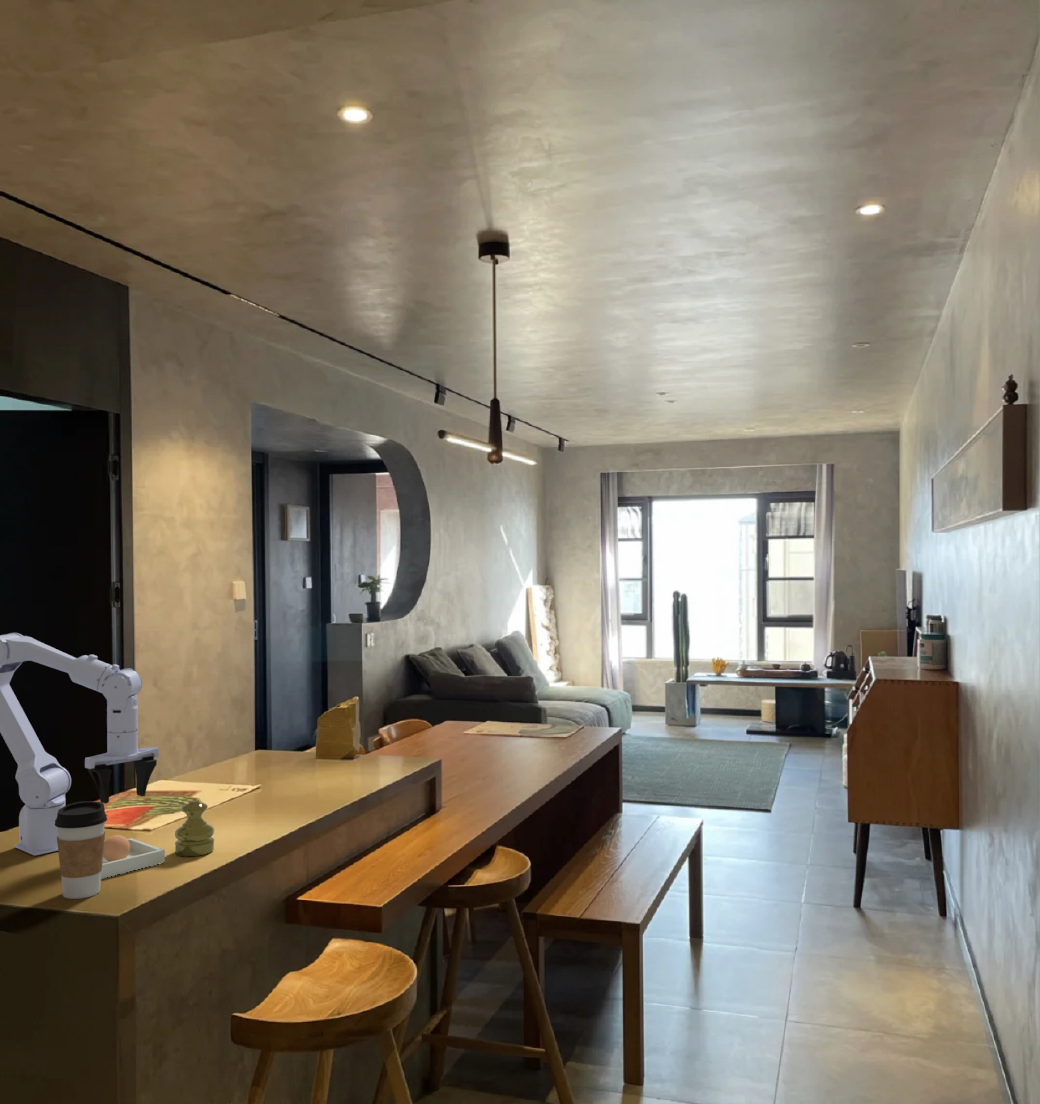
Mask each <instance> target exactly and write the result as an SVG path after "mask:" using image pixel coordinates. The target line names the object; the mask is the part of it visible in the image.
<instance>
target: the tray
mask: <svg viewBox="0 0 1040 1104" xmlns="http://www.w3.org/2000/svg"><path fill="white" fill-rule="evenodd" d="M127 840H128V841H129V843H130V852H129V854H128V856H127V857H126V858H124V859H120V860H116V861H112V862H109V861H107V860H106V859H105V858H104V856H103V861H102V871H101V880H103V879H104V880H105V879H108V878H112V877H115V875H116V876H118V875H117V874H120V875H124V874H127V873H126V872H128V873H130V872H129V871H132V872H134V871H133V870H136V871H139V870H138V869H140V870H142V869H141V868H143V869H146V868H145V867H147V868H149V867H148V866H151V867H154V865H155V866H158V865H157V864H159V863H162V862H165V861H166V860H165V858H166V857H165V853H166V851H165V849H163V848H160V847H158V846H155V845H153V844H149V843H147V842H145V841H144V842H143V841H141V840H138V839H135V838H134V837H133V838H132V837H131V838H127ZM165 863H166V862H165ZM159 865H160V864H159ZM111 876H112V877H111ZM107 877H108V878H107Z"/></svg>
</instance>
